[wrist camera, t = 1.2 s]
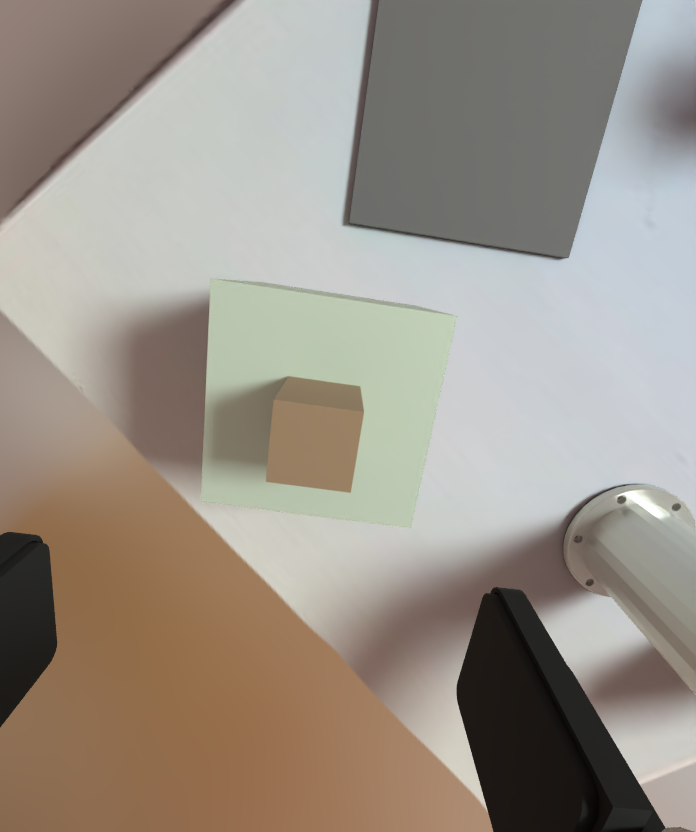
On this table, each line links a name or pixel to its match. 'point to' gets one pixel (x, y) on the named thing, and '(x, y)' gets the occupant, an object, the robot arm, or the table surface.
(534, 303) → the table surface
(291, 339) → the pale green block
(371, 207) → the mat
